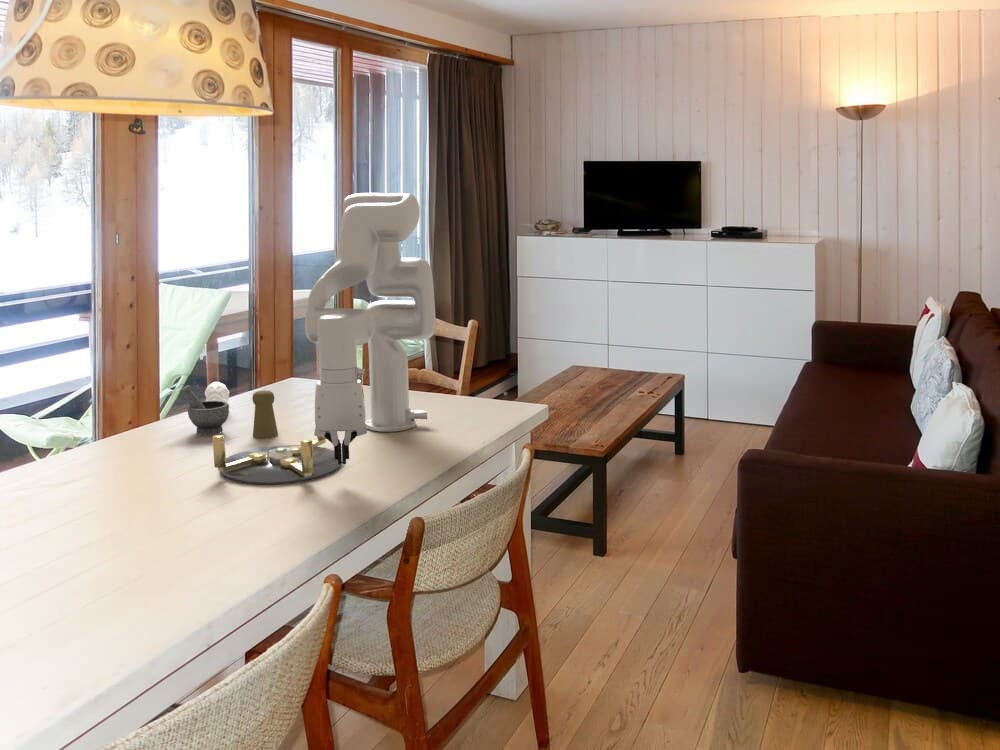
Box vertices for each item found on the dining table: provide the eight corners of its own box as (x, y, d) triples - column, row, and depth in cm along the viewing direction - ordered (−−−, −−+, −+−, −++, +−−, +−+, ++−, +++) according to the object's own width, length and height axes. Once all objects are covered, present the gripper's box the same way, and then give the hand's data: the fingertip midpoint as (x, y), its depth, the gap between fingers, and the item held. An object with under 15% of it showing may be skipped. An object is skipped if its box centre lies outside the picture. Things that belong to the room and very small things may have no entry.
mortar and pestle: (231, 426, 257) (228, 379, 254) (228, 436, 248) (225, 387, 245) (185, 428, 255) (182, 381, 253) (180, 438, 246) (177, 390, 244)
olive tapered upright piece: (272, 439, 245) (269, 394, 243) (248, 437, 246) (245, 393, 244) (282, 432, 251) (279, 388, 248) (259, 431, 252) (256, 388, 250)
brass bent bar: (297, 457, 224) (295, 423, 222) (282, 455, 226) (280, 421, 224) (333, 442, 235) (331, 410, 234) (318, 440, 237) (317, 409, 235)
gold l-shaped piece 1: (259, 456, 224) (257, 423, 223) (271, 459, 222) (269, 426, 221) (209, 471, 214) (207, 436, 213) (222, 474, 212) (219, 439, 210)
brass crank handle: (277, 464, 218) (275, 430, 217) (295, 461, 221) (293, 427, 219) (301, 480, 208) (299, 444, 206) (319, 476, 210) (317, 440, 208)
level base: (347, 448, 236) (346, 432, 235) (335, 483, 210) (334, 465, 209) (233, 451, 234) (232, 435, 234) (207, 486, 209) (206, 468, 208)
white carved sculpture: (229, 379, 271) (225, 393, 260) (231, 409, 274) (227, 424, 262) (204, 380, 270) (199, 394, 259) (207, 410, 273) (202, 425, 261)
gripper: (375, 370, 211) (378, 456, 215) (301, 373, 209) (306, 459, 213) (376, 377, 204) (379, 466, 207) (300, 380, 202) (304, 469, 205)
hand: (342, 462), depth 210 cm, fingers closed
